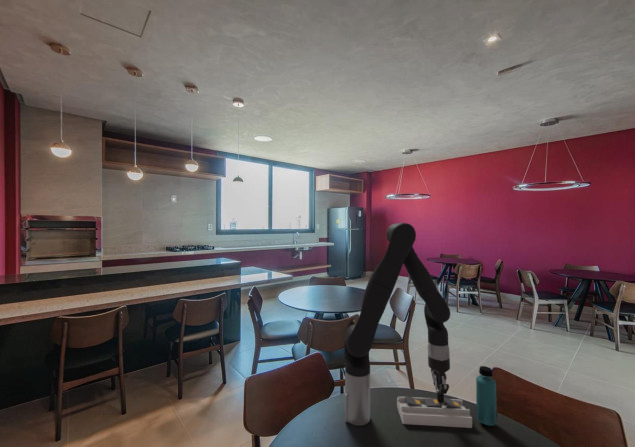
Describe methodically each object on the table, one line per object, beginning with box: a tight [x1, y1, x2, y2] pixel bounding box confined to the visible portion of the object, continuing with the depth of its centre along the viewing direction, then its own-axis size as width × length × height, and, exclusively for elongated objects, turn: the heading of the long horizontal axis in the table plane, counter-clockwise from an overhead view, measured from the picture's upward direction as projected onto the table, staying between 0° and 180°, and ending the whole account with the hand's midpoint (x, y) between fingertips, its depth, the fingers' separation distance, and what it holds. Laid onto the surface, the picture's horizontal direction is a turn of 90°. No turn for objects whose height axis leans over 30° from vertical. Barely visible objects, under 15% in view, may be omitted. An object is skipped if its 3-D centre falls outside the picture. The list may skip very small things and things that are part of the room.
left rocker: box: [404, 395, 422, 407], centre depth 107 cm, size 5×4×1 cm
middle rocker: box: [423, 397, 442, 408], centre depth 106 cm, size 5×4×1 cm
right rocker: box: [444, 397, 462, 409], centre depth 106 cm, size 5×4×1 cm
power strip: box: [396, 396, 473, 429], centre depth 106 cm, size 24×10×5 cm, turn 86°
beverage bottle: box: [475, 365, 498, 427], centre depth 102 cm, size 6×7×20 cm
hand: (440, 401), depth 106 cm, fingers closed
